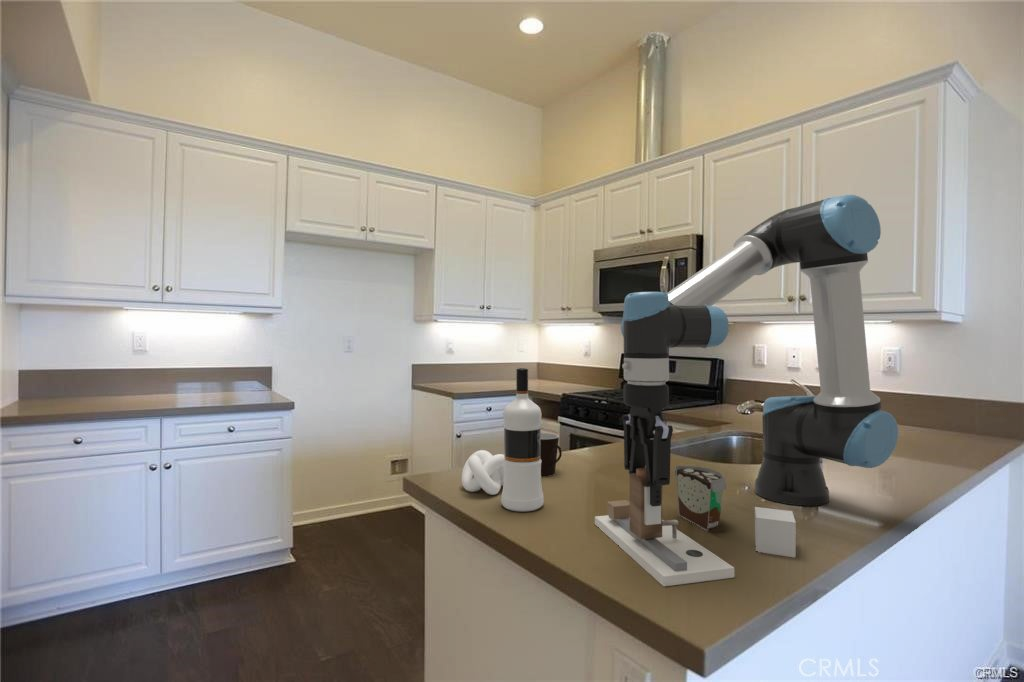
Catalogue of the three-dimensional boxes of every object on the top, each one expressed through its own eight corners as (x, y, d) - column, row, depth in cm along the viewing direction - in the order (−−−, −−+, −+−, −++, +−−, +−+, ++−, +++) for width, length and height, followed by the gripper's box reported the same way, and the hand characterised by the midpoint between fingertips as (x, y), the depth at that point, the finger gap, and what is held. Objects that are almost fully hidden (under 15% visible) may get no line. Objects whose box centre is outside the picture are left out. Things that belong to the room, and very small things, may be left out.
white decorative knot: (499, 481, 132) (499, 446, 132) (520, 494, 121) (520, 455, 121) (457, 486, 127) (457, 450, 127) (475, 500, 116) (475, 461, 116)
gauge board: (650, 518, 104) (650, 493, 104) (734, 577, 79) (734, 544, 79) (594, 524, 102) (594, 498, 102) (663, 586, 76) (663, 552, 76)
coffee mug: (524, 469, 143) (524, 433, 143) (555, 468, 144) (555, 432, 144) (531, 481, 132) (531, 442, 131) (564, 480, 133) (564, 441, 132)
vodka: (495, 501, 115) (495, 367, 115) (533, 497, 119) (533, 366, 118) (510, 515, 107) (509, 370, 106) (550, 509, 110) (550, 368, 110)
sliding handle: (670, 533, 92) (671, 465, 92) (683, 541, 88) (683, 470, 88) (629, 537, 90) (629, 467, 90) (640, 546, 86) (640, 473, 86)
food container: (740, 531, 98) (740, 478, 98) (713, 534, 96) (713, 481, 96) (699, 510, 110) (699, 463, 110) (674, 513, 108) (674, 465, 108)
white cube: (791, 544, 92) (792, 511, 92) (795, 558, 86) (796, 522, 86) (754, 539, 94) (754, 506, 94) (755, 552, 89) (756, 517, 89)
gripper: (605, 379, 96) (604, 504, 96) (650, 388, 79) (650, 540, 80) (641, 378, 98) (641, 501, 98) (694, 387, 81) (693, 535, 81)
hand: (645, 518), depth 89 cm, fingers closed on sliding handle, 4 cm apart
